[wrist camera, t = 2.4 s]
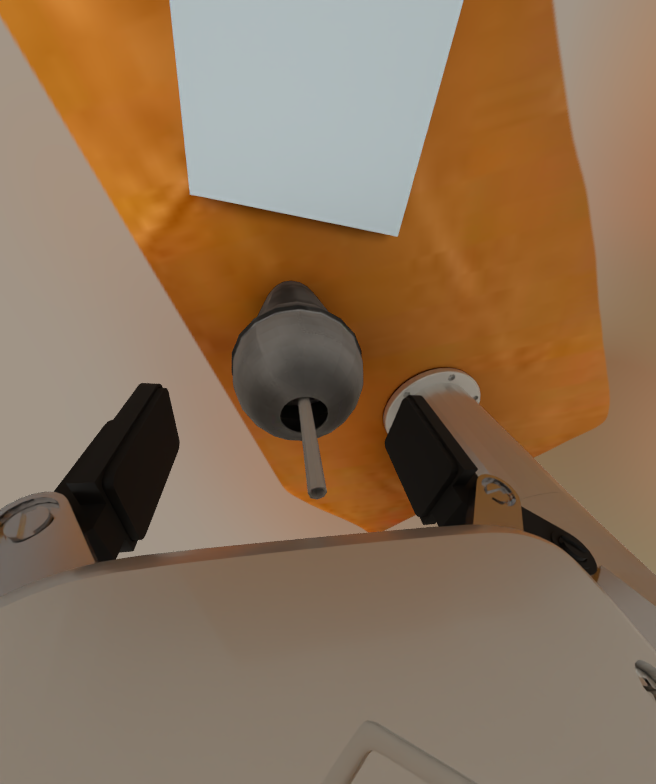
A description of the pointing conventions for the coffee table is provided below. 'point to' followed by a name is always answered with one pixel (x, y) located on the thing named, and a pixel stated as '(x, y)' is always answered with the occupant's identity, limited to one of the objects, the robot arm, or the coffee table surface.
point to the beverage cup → (298, 372)
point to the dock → (310, 102)
